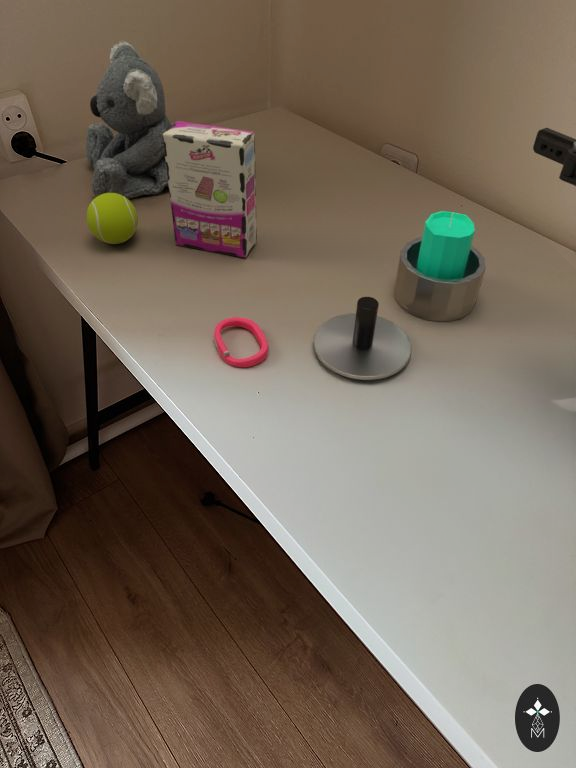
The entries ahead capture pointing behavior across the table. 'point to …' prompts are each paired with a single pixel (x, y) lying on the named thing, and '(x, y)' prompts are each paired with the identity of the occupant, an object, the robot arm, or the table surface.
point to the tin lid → (362, 343)
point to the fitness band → (250, 326)
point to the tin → (437, 287)
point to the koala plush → (128, 128)
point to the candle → (445, 245)
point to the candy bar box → (212, 187)
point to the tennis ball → (112, 218)
